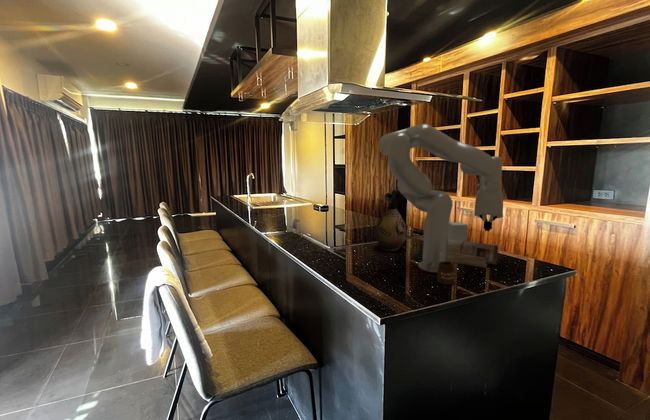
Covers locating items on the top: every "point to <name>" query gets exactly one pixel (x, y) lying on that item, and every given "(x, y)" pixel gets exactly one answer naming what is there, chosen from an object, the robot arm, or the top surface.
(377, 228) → the ceramic jug
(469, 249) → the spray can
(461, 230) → the supplement box
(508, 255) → the top surface
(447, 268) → the utensil holder
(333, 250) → the top surface
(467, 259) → the u-rest
